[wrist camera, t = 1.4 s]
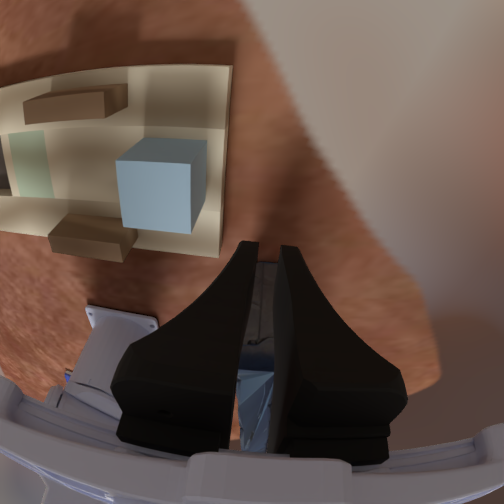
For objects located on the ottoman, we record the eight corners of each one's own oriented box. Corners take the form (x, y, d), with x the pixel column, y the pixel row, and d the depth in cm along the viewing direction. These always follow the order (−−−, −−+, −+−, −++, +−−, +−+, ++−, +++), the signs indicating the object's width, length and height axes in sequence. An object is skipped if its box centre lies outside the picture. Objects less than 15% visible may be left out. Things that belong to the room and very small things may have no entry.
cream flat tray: (221, 245, 24) (211, 286, 21) (-7, 220, 24) (-33, 245, 21) (232, 65, 17) (219, 70, 13) (-32, 97, 17) (-68, 113, 13)
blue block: (205, 200, 20) (190, 234, 17) (146, 195, 20) (123, 227, 17) (207, 140, 18) (190, 164, 15) (143, 137, 18) (115, 160, 15)
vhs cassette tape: (269, 384, 36) (264, 462, 28) (244, 382, 36) (235, 460, 28) (286, 260, 25) (286, 371, 17) (247, 257, 25) (232, 367, 17)
